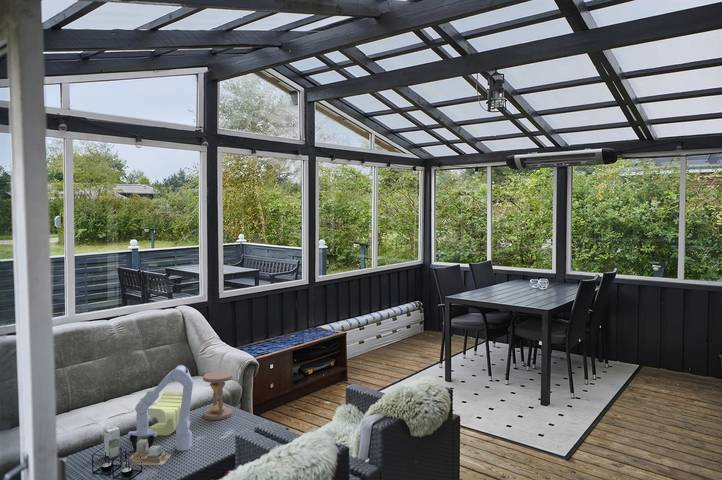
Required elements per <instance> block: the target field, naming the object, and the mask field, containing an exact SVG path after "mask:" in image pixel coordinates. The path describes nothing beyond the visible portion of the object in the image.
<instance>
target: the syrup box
mask: <svg viewBox="0 0 722 480" xmlns="http://www.w3.org/2000/svg"><path fill="white" fill-rule="evenodd" d="M120 434H121V431H120V428H119V427H117V426H116V425H112V426H110V427H109V426H108V427H106V428H103V456H104V455H105V452H106V455H107V456H109V460H110V459H113V458H117V457H119V456H120V455H121V453H120V451H121V449H120V445H121V444H120V439H121V437H120ZM119 454H120V455H119Z"/></svg>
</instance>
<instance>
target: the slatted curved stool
mask: <svg viewBox="0 0 722 480" xmlns="http://www.w3.org/2000/svg"><path fill="white" fill-rule="evenodd" d="M182 395H183V391H165V390H164V391H163V392H162V395H161V396H160V397H159V398H158V399H157V402H156V403H154V405H153V406H151V407H150V408H148V416H149V415H150V416H153V417H154V418H156V420H157V422H156V423H155V424H154V425H152V426H151V427H150V428H149V427H148V431H153V432H157V436H169V435H171V434H172V433H174V432H176V427H177V425H178V422H179V417H180V411H181V403H182Z"/></svg>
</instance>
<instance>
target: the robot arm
mask: <svg viewBox="0 0 722 480" xmlns="http://www.w3.org/2000/svg"><path fill="white" fill-rule="evenodd" d="M174 382H177V383H178V384H180V385H182V386H183V387H182V389H183V390H182V392H183V395H182V403H181V411H180V417H179V422H178V425H177V427H176V430H175V441H176V442H175V443H176V445H175V447H176V448H175V449H176V451H179V452H184V451H188V450H190V449H191V447H192V445H193V433H192V431H191V430H190V426H191V419H190V417H191V416H190V413H191V412H190V411H191V404H192V395H193V389H194V388H193V387H194V380H193V378H192V376H191V373H190V370H189V369H188V367H186V366H185V365H183V364H179V365H176V367H175V368H173V369H172V370H171V371H169V372H168V374H167V375H165V376H164V378H163V379H162V380H161V381H160V382H159V383H158V385H157V386H156V387H155V388H151V389H149V390H147V391H146V393H145V395H144V396H143V397H141V398H140V401H138V403H137V404H136V405H135V408H134V410H135V412H136V417H135V418H136V430H134V431H131V430H130V431H128V432H127V437H129V438H128V439H129V441H130V442H131V444H132V447H133V448H132V449H133V451H137V442H138V437H139V438H140V437H147V440H148V449H149V448H150V447H151V446H152V445H153V443H154V441H155V438H156V437H157V436H158V435H157V432H153V431H148V429H149V414H148V409H150V408H149V407H152V405H153V404H155V402H156V401H157V400H158V399H159V398H160V393H161V391H163V389H165V388H166V386H168V385H169V384H170V383H174Z"/></svg>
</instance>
